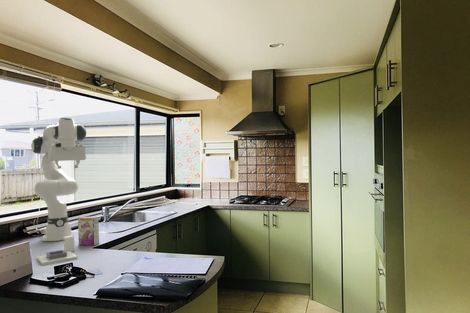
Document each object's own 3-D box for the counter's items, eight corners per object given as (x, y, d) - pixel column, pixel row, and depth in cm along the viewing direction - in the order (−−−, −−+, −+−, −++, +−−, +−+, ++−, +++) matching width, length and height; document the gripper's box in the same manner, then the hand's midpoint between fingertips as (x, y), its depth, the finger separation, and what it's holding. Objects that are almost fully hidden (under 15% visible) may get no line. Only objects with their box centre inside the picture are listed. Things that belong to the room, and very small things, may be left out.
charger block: (63, 251, 198) (63, 236, 198) (72, 249, 201) (71, 235, 201) (65, 252, 194) (65, 238, 194) (74, 250, 197) (73, 236, 197)
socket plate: (36, 258, 183) (36, 252, 183) (69, 252, 193) (69, 247, 193) (42, 265, 171) (42, 258, 171) (77, 258, 180) (77, 252, 181)
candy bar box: (78, 245, 211) (77, 217, 211) (83, 243, 216) (83, 216, 216) (94, 245, 208) (93, 218, 208) (99, 243, 213) (98, 216, 213)
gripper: (83, 145, 216) (84, 167, 216) (46, 145, 202) (47, 169, 202) (87, 144, 211) (87, 167, 211) (50, 144, 197) (50, 169, 197)
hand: (67, 168), depth 206 cm, fingers open, 8 cm apart
